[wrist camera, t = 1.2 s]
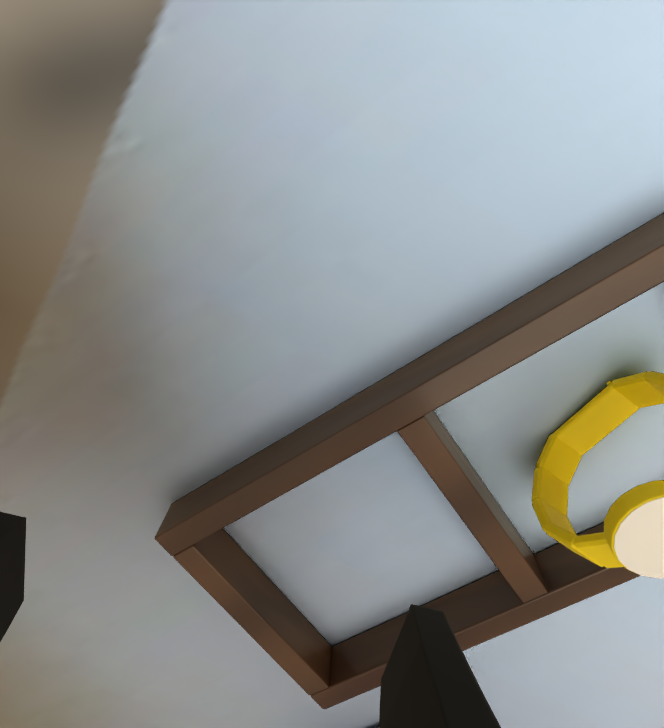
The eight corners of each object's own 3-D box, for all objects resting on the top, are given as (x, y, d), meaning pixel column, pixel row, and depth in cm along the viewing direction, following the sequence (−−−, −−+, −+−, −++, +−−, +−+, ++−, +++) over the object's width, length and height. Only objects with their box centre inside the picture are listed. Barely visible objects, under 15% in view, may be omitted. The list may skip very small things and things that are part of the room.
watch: (626, 332, 18) (737, 423, 13) (685, 379, 19) (815, 485, 14) (500, 457, 21) (549, 580, 15) (555, 496, 21) (623, 628, 16)
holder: (795, 458, 20) (839, 493, 18) (326, 668, 25) (323, 711, 24) (679, 202, 17) (718, 213, 15) (170, 503, 22) (153, 538, 20)
